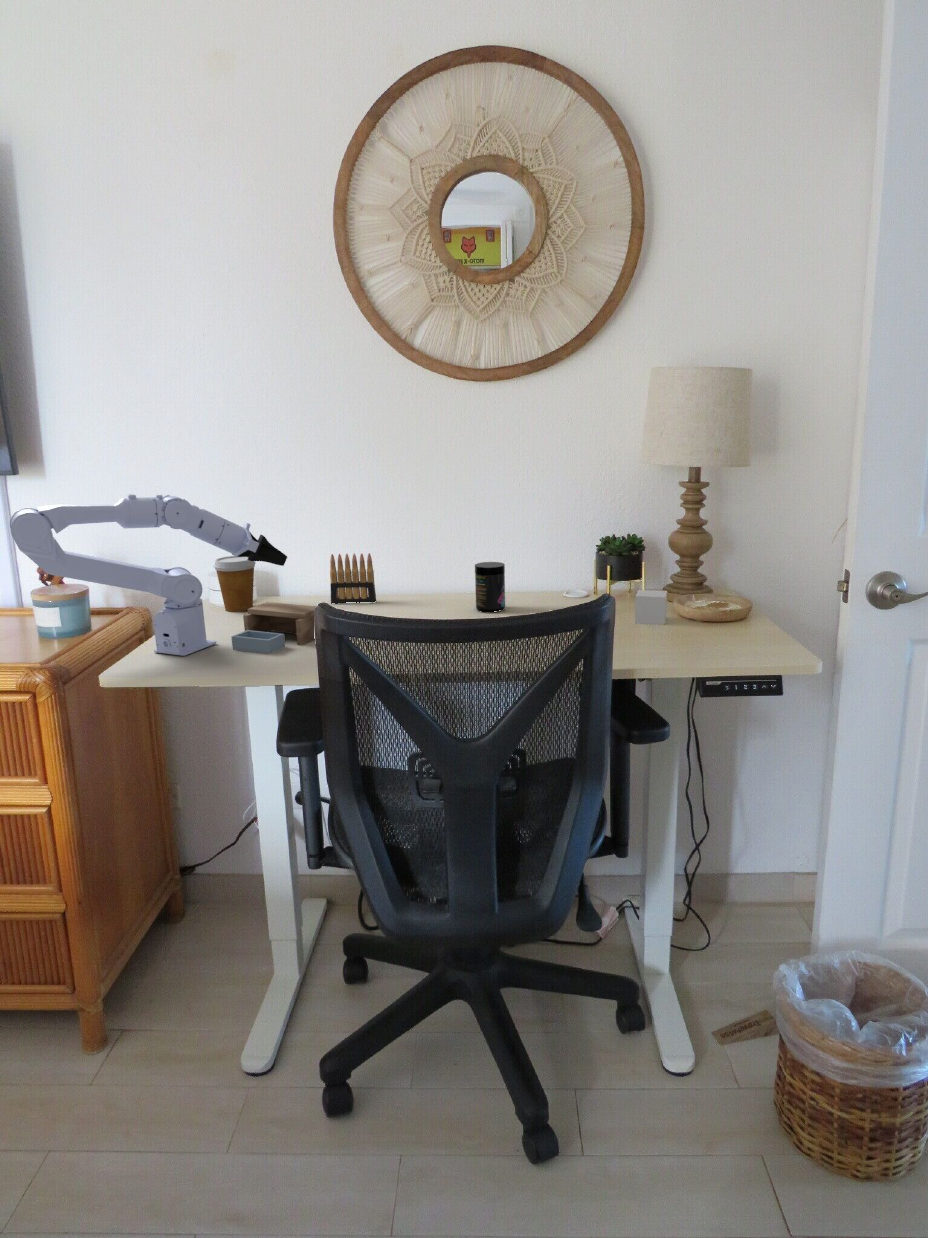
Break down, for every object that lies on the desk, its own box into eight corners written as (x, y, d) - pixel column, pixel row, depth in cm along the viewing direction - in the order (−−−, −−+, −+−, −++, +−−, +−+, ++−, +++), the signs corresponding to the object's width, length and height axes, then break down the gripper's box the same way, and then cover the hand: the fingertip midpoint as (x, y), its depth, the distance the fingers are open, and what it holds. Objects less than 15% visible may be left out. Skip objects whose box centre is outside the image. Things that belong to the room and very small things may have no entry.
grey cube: (664, 625, 178) (665, 597, 176) (634, 624, 180) (635, 596, 178) (666, 618, 183) (667, 590, 182) (637, 616, 185) (638, 589, 184)
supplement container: (497, 614, 190) (496, 568, 188) (470, 611, 194) (469, 566, 191) (510, 607, 196) (509, 562, 194) (484, 605, 199) (483, 561, 197)
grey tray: (269, 655, 166) (268, 640, 165) (232, 651, 170) (231, 636, 169) (285, 648, 170) (284, 633, 170) (249, 644, 174) (247, 630, 173)
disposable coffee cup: (265, 604, 207) (260, 554, 204) (251, 613, 198) (246, 562, 195) (226, 604, 208) (222, 555, 205) (211, 613, 199) (206, 562, 196)
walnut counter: (301, 645, 171) (299, 616, 169) (245, 638, 177) (242, 610, 175) (324, 635, 178) (322, 606, 176) (269, 629, 184) (267, 601, 182)
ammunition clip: (330, 604, 205) (327, 554, 202) (332, 602, 207) (328, 553, 204) (375, 603, 205) (372, 553, 202) (376, 601, 206) (373, 552, 203)
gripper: (236, 515, 164) (298, 544, 171) (217, 511, 176) (276, 538, 183) (221, 549, 164) (284, 576, 171) (203, 542, 176) (262, 569, 183)
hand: (279, 559), depth 177 cm, fingers open, 7 cm apart
